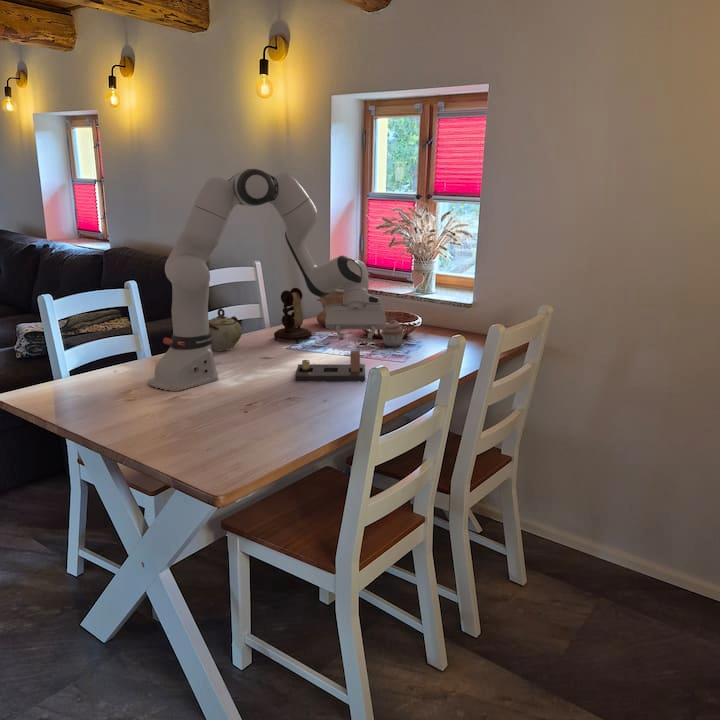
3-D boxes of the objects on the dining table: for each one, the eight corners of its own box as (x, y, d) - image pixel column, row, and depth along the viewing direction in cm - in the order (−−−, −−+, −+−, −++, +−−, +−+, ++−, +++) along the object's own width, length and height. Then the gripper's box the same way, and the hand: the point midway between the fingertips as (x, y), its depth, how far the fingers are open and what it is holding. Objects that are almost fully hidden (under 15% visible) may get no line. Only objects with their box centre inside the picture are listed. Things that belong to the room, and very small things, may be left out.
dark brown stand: (299, 345, 235) (298, 293, 230) (266, 341, 242) (264, 290, 236) (318, 337, 248) (317, 287, 243) (286, 333, 254) (285, 284, 249)
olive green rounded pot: (222, 339, 244) (219, 302, 239) (254, 344, 238) (252, 305, 233) (189, 352, 226) (186, 312, 222) (223, 357, 220) (220, 316, 216)
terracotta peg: (350, 377, 199) (350, 353, 196) (350, 374, 202) (350, 350, 199) (359, 377, 199) (359, 353, 197) (359, 374, 202) (359, 350, 199)
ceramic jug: (307, 326, 266) (307, 293, 262) (327, 319, 278) (326, 288, 273) (342, 332, 257) (342, 298, 253) (361, 325, 269) (361, 292, 264)
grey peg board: (295, 381, 194) (294, 366, 193) (298, 370, 206) (298, 355, 204) (365, 381, 194) (365, 366, 193) (364, 370, 206) (364, 355, 205)
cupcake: (375, 345, 235) (376, 320, 232) (387, 340, 243) (388, 315, 240) (397, 349, 231) (398, 323, 228) (409, 343, 238) (409, 318, 235)
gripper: (324, 298, 207) (323, 334, 200) (385, 298, 207) (386, 334, 200) (325, 308, 212) (324, 343, 206) (385, 309, 212) (385, 344, 206)
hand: (355, 339), depth 203 cm, fingers open, 8 cm apart
